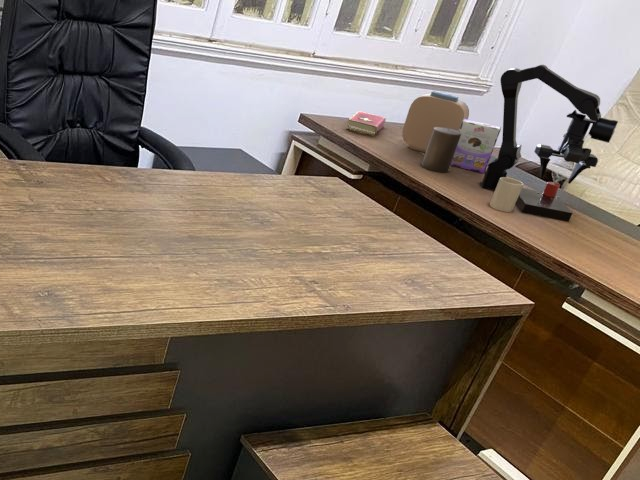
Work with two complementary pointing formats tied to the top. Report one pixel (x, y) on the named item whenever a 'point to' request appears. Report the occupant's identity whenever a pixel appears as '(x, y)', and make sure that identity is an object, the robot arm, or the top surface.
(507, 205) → the cup
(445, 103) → the alarm clock
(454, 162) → the candy box
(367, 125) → the hardcover book
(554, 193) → the red cube
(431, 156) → the pillar candle
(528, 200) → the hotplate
